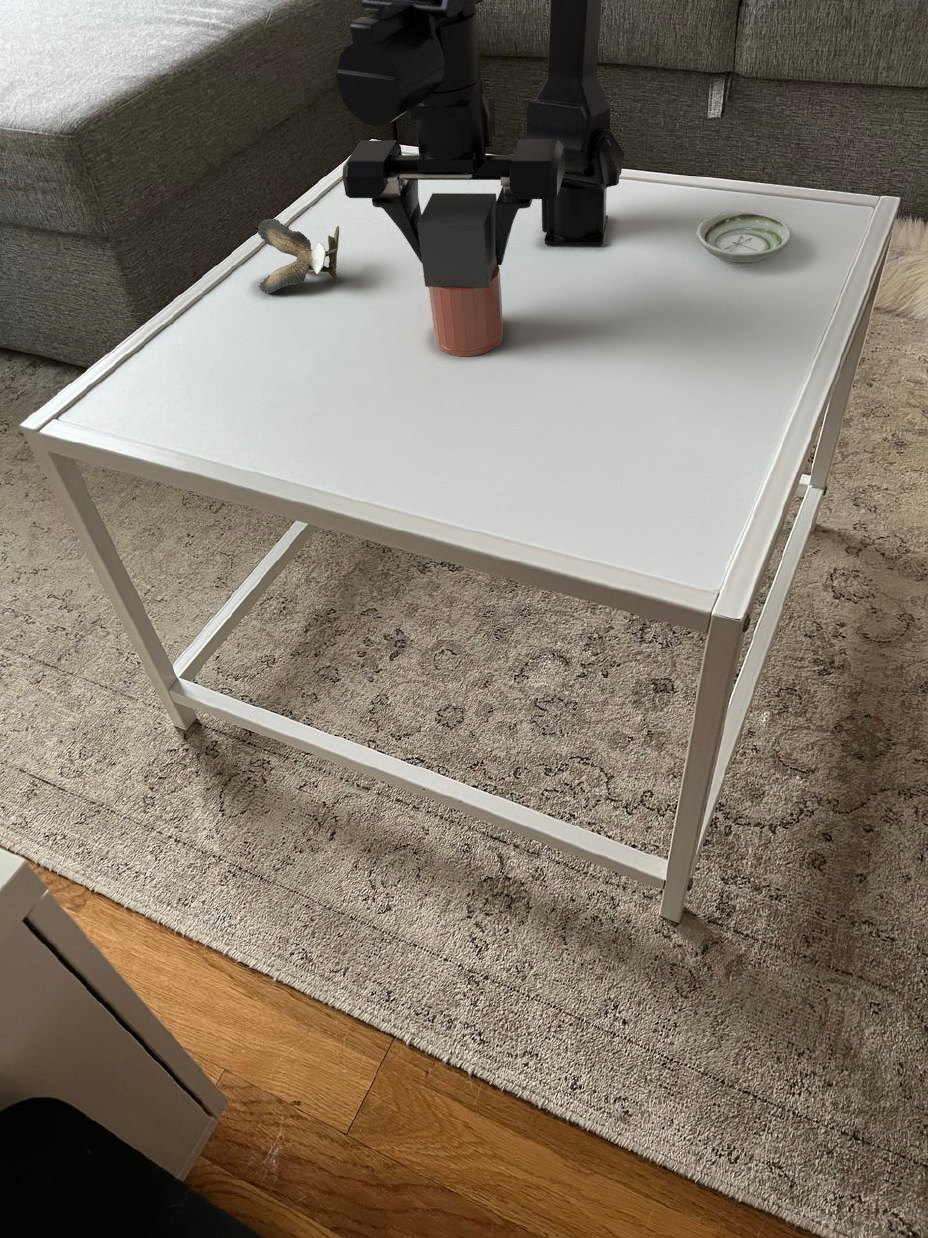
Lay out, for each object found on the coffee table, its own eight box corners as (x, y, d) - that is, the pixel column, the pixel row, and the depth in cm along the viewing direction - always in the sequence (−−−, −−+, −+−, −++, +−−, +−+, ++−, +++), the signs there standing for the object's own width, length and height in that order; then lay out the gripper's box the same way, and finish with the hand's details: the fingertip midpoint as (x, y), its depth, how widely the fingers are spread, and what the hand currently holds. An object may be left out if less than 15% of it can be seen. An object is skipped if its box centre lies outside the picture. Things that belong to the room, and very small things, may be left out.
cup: (508, 320, 94) (505, 254, 89) (496, 357, 90) (492, 290, 85) (443, 317, 96) (436, 252, 90) (428, 355, 91) (420, 288, 86)
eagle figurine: (341, 246, 106) (260, 239, 105) (338, 209, 98) (252, 201, 98) (337, 309, 104) (255, 302, 104) (334, 276, 97) (247, 269, 97)
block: (500, 255, 89) (496, 193, 84) (488, 288, 85) (483, 224, 81) (439, 254, 90) (432, 192, 86) (425, 286, 86) (417, 223, 82)
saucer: (768, 283, 95) (772, 260, 93) (679, 264, 99) (681, 242, 97) (801, 241, 100) (805, 218, 98) (715, 225, 104) (718, 203, 102)
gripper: (573, 41, 79) (572, 222, 90) (362, 47, 82) (388, 220, 94) (555, 92, 72) (557, 281, 83) (325, 95, 75) (358, 276, 87)
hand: (462, 262), depth 87 cm, fingers open, 7 cm apart
